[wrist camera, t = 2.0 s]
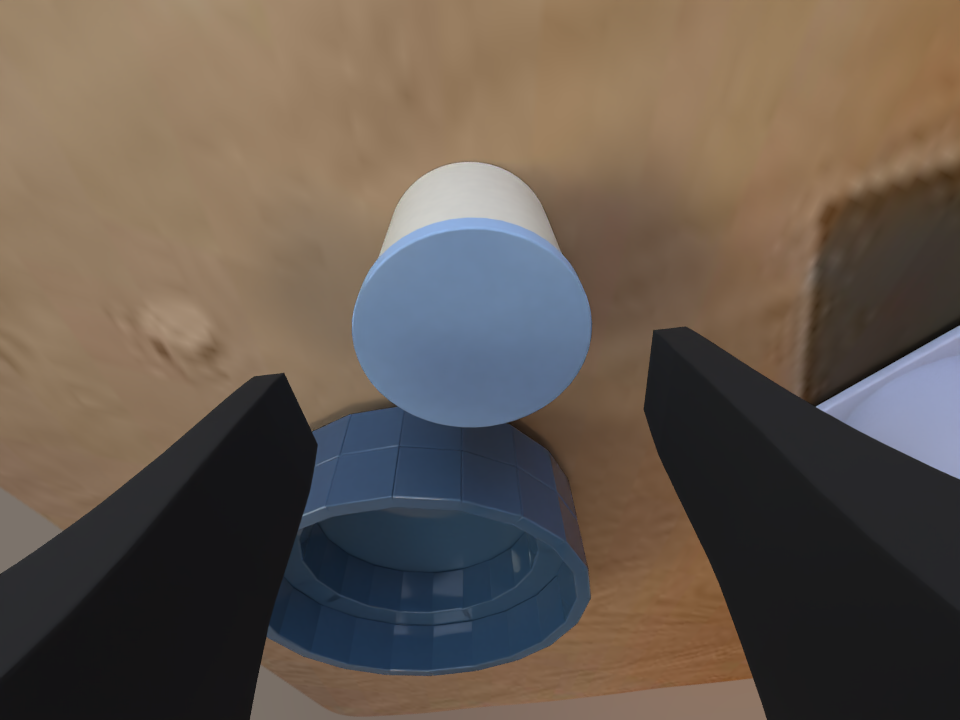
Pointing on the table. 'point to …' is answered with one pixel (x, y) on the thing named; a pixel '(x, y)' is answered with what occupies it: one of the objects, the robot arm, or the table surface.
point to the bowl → (430, 549)
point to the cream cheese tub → (471, 302)
